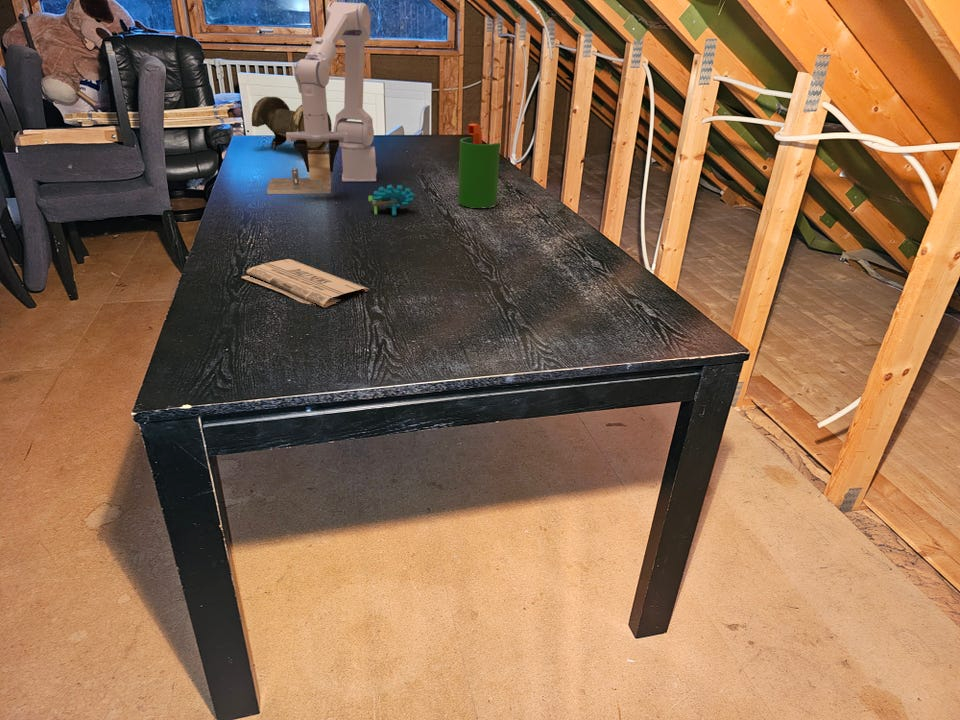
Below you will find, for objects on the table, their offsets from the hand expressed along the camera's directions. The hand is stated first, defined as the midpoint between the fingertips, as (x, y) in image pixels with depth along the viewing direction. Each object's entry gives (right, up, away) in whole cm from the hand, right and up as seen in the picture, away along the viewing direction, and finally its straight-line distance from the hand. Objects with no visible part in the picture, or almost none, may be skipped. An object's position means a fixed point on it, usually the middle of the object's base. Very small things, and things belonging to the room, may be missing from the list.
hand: (320, 171), depth 164 cm
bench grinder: (-18, +20, +49) cm, 56 cm away
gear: (+19, -11, -4) cm, 22 cm away
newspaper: (+8, -35, -44) cm, 57 cm away
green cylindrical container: (+39, -8, +5) cm, 40 cm away
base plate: (-8, -1, +12) cm, 14 cm away
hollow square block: (0, -1, +1) cm, 1 cm away
